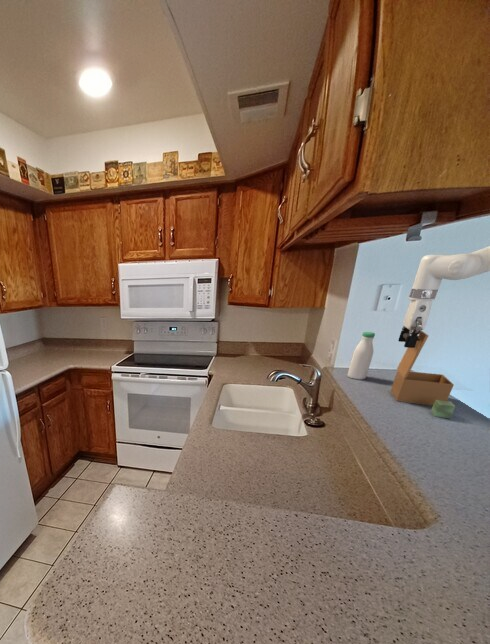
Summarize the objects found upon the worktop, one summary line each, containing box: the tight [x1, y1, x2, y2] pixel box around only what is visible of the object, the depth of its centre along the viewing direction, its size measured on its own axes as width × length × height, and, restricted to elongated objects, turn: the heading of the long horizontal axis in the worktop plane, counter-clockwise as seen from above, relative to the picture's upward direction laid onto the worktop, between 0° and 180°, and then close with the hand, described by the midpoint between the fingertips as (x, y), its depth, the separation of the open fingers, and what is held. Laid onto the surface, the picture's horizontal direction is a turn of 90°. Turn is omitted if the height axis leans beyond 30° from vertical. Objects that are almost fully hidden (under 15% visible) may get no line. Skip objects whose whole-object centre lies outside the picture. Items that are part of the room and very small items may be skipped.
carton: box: [390, 370, 454, 406], centre depth 126 cm, size 15×12×9 cm
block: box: [430, 400, 456, 419], centre depth 114 cm, size 4×4×4 cm
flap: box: [396, 330, 429, 379], centre depth 123 cm, size 16×12×5 cm
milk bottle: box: [347, 331, 376, 380], centre depth 146 cm, size 8×8×20 cm
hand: (405, 344), depth 122 cm, fingers open, 9 cm apart
